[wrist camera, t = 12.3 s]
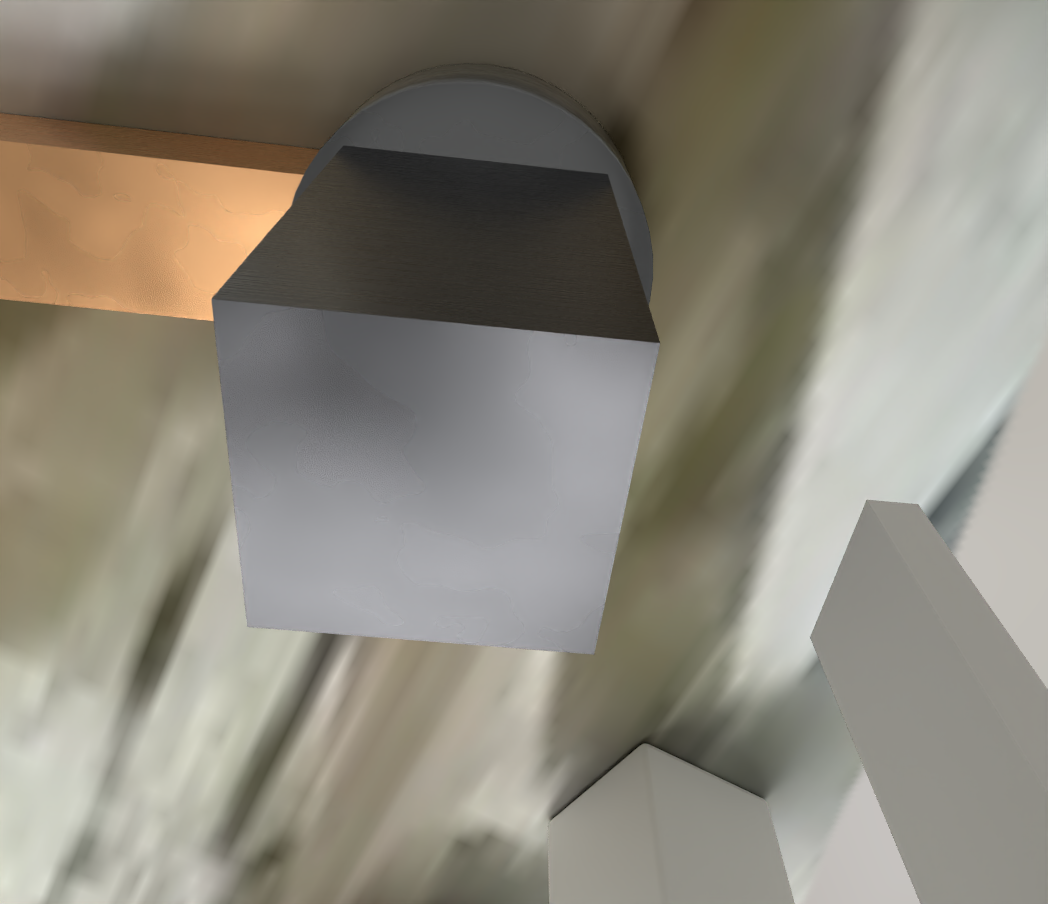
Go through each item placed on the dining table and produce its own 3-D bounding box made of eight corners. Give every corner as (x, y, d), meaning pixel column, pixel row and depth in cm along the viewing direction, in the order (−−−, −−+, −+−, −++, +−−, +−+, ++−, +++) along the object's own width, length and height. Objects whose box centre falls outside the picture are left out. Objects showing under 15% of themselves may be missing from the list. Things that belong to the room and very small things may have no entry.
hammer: (-324, 306, 24) (-660, 455, 17) (-498, -56, 19) (-1065, -46, 12) (610, 399, 25) (638, 571, 18) (669, 86, 20) (737, 164, 14)
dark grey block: (347, 381, 22) (247, 627, 14) (343, 145, 18) (211, 298, 11) (572, 402, 22) (594, 654, 14) (607, 174, 19) (660, 342, 11)
